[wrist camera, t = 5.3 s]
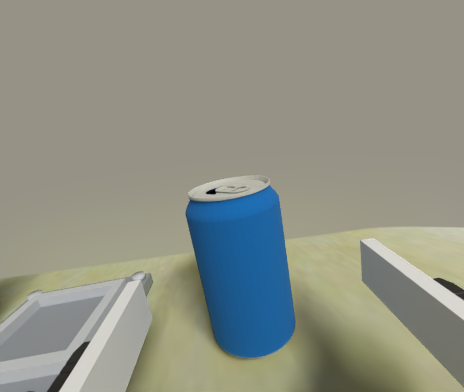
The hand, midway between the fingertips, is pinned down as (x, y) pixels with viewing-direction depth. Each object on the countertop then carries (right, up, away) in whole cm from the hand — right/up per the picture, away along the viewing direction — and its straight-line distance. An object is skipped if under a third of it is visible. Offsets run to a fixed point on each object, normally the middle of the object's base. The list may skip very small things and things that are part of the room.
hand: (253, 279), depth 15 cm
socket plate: (-17, -8, +8) cm, 21 cm away
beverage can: (+1, -6, +5) cm, 8 cm away
